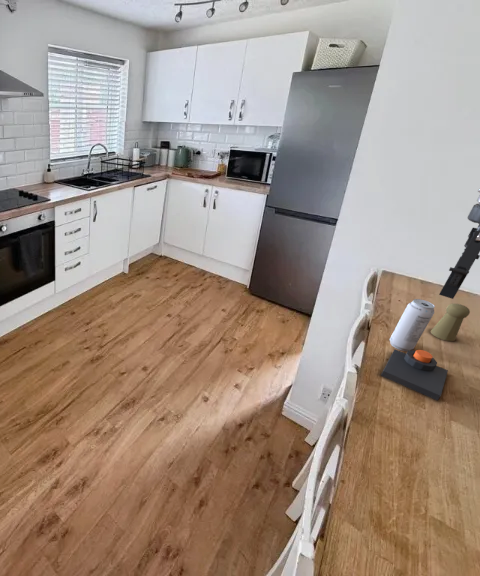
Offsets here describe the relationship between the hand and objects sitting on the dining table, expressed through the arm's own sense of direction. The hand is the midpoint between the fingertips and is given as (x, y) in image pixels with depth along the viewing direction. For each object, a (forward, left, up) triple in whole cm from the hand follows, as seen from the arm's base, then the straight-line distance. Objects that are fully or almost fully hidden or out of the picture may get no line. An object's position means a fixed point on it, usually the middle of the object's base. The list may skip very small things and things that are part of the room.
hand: (450, 288), depth 94 cm
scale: (-2, +8, -23) cm, 25 cm away
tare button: (-2, +4, -20) cm, 20 cm away
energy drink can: (+3, -5, -23) cm, 24 cm away
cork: (-5, -23, -23) cm, 33 cm away
